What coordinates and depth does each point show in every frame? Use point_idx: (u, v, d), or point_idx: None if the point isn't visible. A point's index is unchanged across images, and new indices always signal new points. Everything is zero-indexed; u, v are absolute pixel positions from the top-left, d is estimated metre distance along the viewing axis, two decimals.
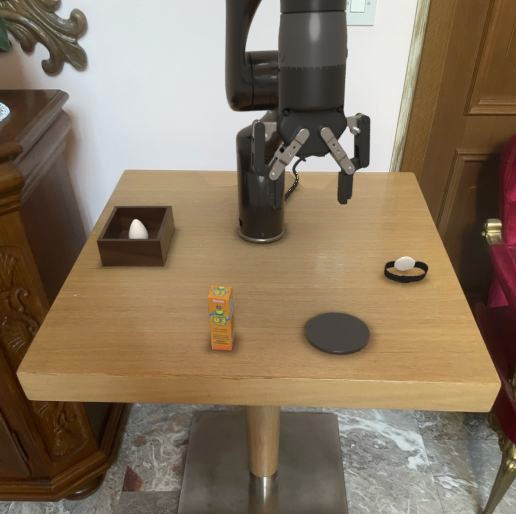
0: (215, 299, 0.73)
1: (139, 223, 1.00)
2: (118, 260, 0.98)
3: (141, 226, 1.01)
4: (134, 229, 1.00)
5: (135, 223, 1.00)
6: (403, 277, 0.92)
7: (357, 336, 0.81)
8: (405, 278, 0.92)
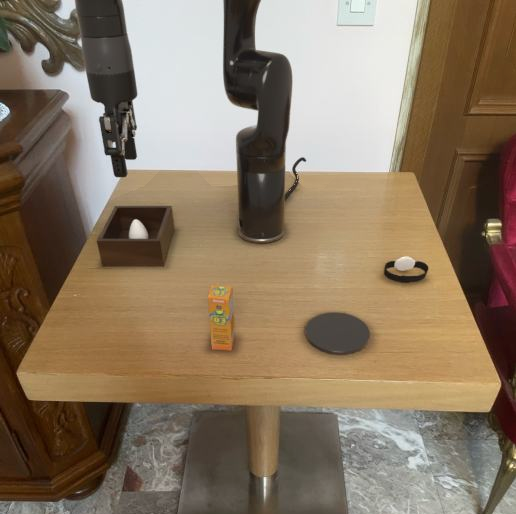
0: (215, 299, 0.73)
1: (139, 223, 1.00)
2: (118, 260, 0.98)
3: (141, 226, 1.01)
4: (134, 229, 1.00)
5: (135, 223, 1.00)
6: (403, 277, 0.92)
7: (357, 336, 0.81)
8: (405, 278, 0.92)
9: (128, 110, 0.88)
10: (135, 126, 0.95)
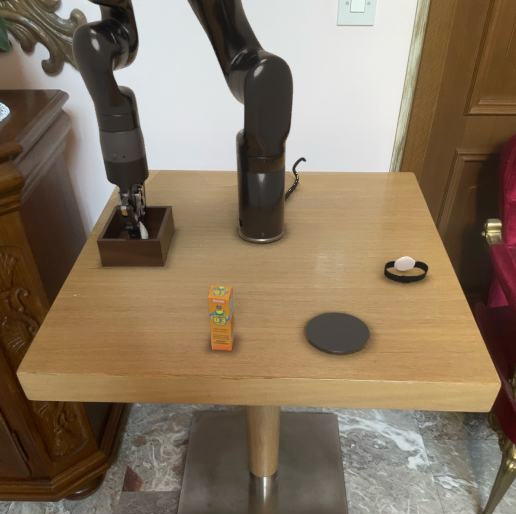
0: (215, 299, 0.73)
1: None
2: (118, 260, 0.98)
3: (141, 226, 1.01)
4: None
5: None
6: (403, 277, 0.92)
7: (357, 336, 0.81)
8: (405, 278, 0.92)
9: (140, 186, 0.97)
10: (145, 205, 1.03)
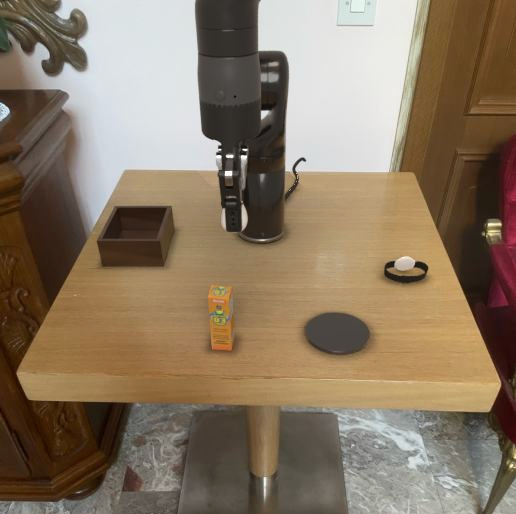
0: (215, 299, 0.73)
1: None
2: (118, 260, 0.98)
3: None
4: None
5: None
6: (403, 277, 0.92)
7: (357, 336, 0.81)
8: (405, 278, 0.92)
9: (246, 146, 0.68)
10: None
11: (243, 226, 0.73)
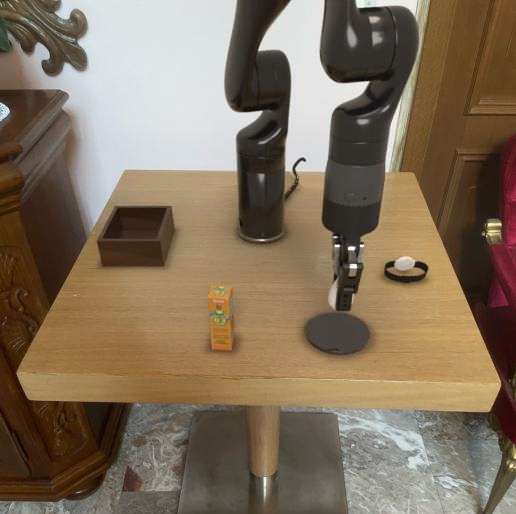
0: (215, 299, 0.73)
1: None
2: (118, 260, 0.98)
3: None
4: None
5: None
6: (403, 277, 0.92)
7: (357, 336, 0.81)
8: (405, 278, 0.92)
9: None
10: None
11: None
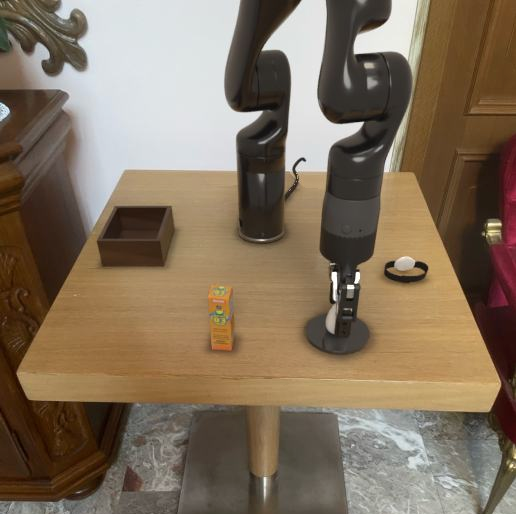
0: (215, 299, 0.73)
1: None
2: (118, 260, 0.98)
3: None
4: None
5: None
6: (403, 277, 0.92)
7: (357, 336, 0.81)
8: (405, 278, 0.92)
9: None
10: None
11: None
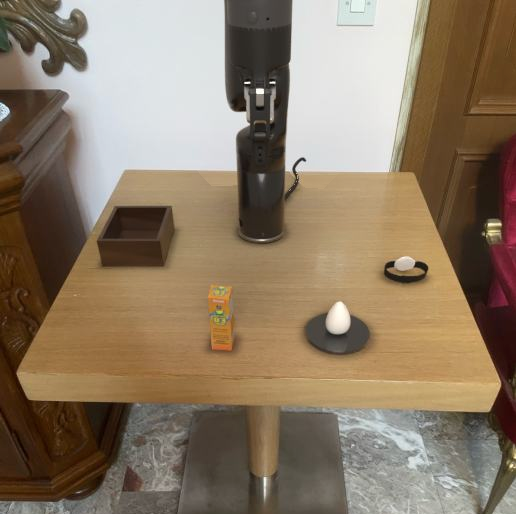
0: (215, 299, 0.73)
1: (344, 306, 0.78)
2: (118, 260, 0.98)
3: (346, 310, 0.79)
4: (338, 314, 0.78)
5: (340, 307, 0.78)
6: (403, 277, 0.92)
7: (357, 336, 0.81)
8: (405, 278, 0.92)
9: (273, 80, 0.66)
10: None
11: (347, 329, 0.80)
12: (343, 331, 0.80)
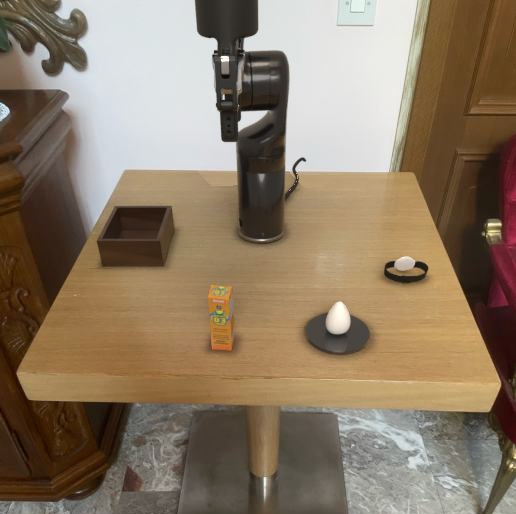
0: (215, 299, 0.73)
1: (344, 306, 0.78)
2: (118, 260, 0.98)
3: (346, 310, 0.79)
4: (338, 314, 0.78)
5: (340, 307, 0.78)
6: (403, 277, 0.92)
7: (357, 336, 0.81)
8: (405, 278, 0.92)
9: (242, 52, 0.66)
10: None
11: (347, 329, 0.80)
12: (343, 331, 0.80)
